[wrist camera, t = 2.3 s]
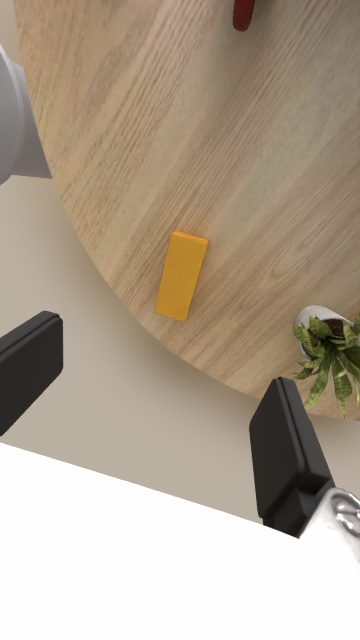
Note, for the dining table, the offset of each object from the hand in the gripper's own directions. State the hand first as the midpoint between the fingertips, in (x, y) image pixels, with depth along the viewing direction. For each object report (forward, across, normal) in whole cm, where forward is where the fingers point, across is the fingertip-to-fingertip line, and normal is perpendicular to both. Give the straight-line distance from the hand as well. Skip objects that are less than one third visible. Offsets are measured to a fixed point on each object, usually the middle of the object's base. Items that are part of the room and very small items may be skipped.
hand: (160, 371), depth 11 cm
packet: (+28, +2, +5) cm, 28 cm away
